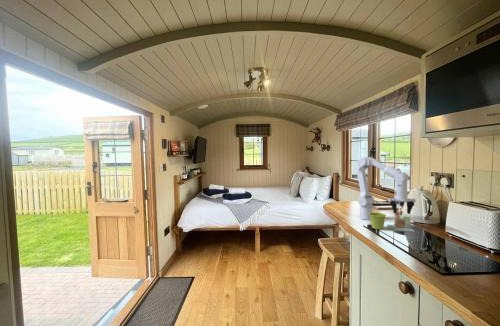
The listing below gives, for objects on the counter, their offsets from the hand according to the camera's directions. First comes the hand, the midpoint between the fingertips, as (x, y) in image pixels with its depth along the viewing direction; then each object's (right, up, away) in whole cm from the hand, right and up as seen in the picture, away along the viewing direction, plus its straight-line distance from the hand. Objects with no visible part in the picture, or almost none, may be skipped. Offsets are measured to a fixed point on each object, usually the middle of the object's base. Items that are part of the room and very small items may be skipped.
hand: (401, 213), depth 139 cm
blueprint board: (-3, -9, -3) cm, 10 cm away
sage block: (+7, -8, +7) cm, 13 cm away
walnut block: (-3, -8, -3) cm, 9 cm away
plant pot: (-16, -9, -1) cm, 19 cm away
